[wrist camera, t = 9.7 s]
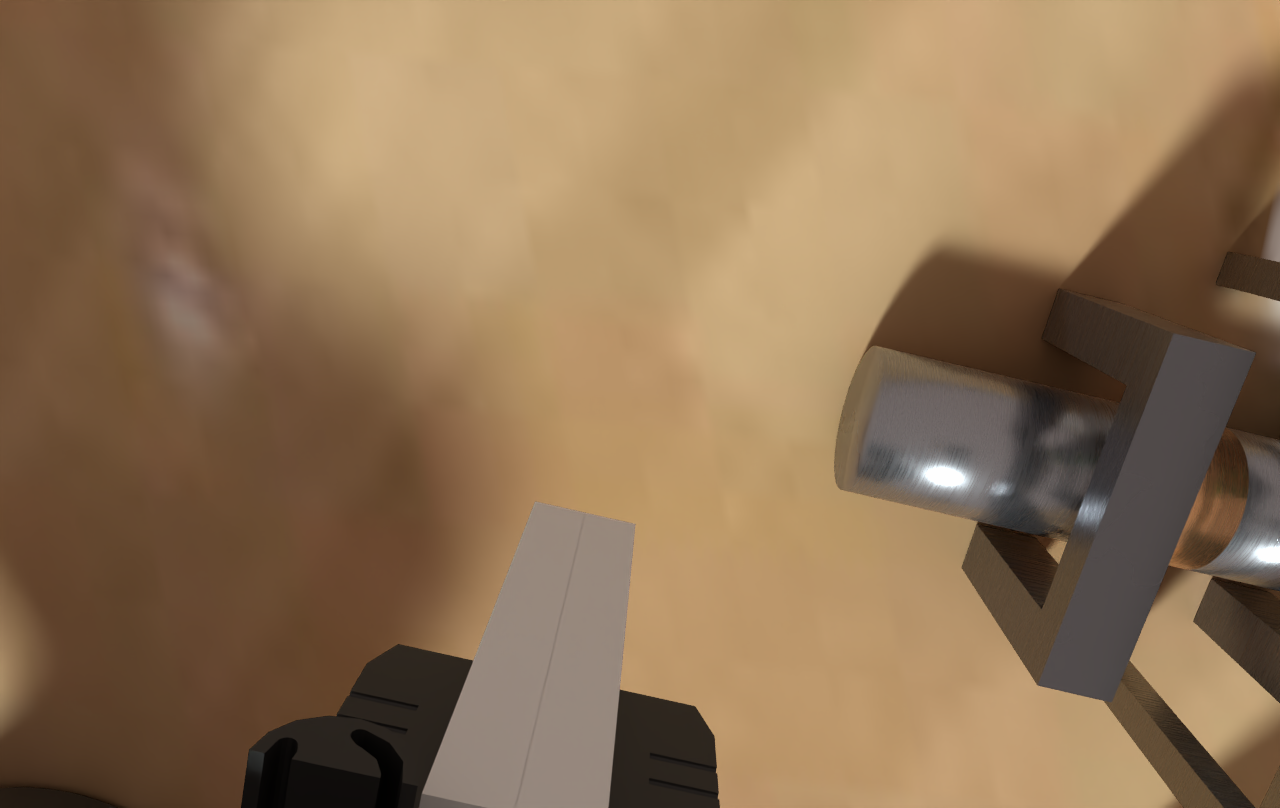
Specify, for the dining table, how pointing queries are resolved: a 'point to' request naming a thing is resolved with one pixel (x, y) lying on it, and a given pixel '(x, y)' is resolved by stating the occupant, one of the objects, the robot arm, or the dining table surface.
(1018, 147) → the dining table surface
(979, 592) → the dark grey arch
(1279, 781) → the frame
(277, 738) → the robot arm
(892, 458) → the tube
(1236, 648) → the collar
